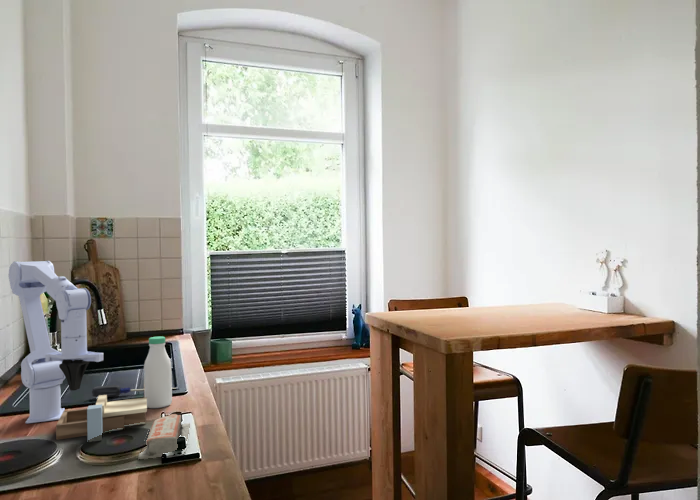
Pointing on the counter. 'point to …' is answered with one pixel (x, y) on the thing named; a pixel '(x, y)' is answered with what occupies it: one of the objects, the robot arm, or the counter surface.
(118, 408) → the lid
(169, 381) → the milk bottle
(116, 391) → the screwdriver
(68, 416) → the wooden compartment box
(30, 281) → the robot arm
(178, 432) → the packaged product
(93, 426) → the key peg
